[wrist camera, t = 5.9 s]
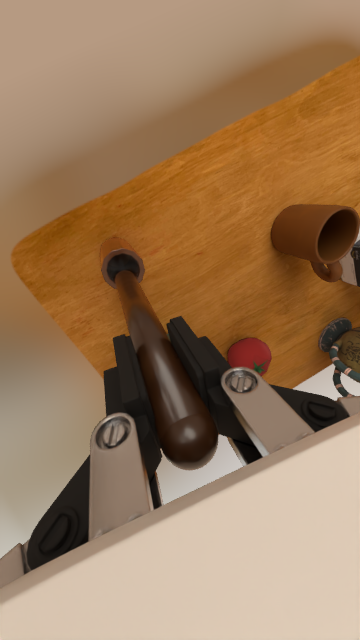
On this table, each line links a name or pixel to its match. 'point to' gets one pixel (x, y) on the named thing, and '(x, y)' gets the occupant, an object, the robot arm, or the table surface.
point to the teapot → (342, 350)
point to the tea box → (352, 264)
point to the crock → (119, 260)
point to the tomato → (250, 355)
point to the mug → (317, 236)
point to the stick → (167, 383)
